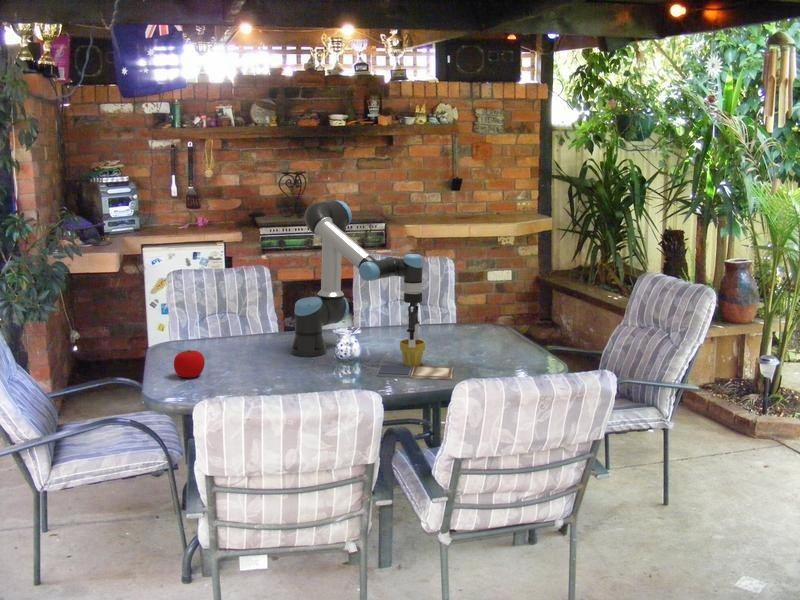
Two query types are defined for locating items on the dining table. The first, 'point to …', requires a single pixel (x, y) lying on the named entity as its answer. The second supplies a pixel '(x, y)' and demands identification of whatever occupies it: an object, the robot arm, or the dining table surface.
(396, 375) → the ink pad
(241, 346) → the dining table surface
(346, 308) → the robot arm
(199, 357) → the tomato
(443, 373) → the board
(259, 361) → the dining table surface
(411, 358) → the plant pot
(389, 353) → the dining table surface
